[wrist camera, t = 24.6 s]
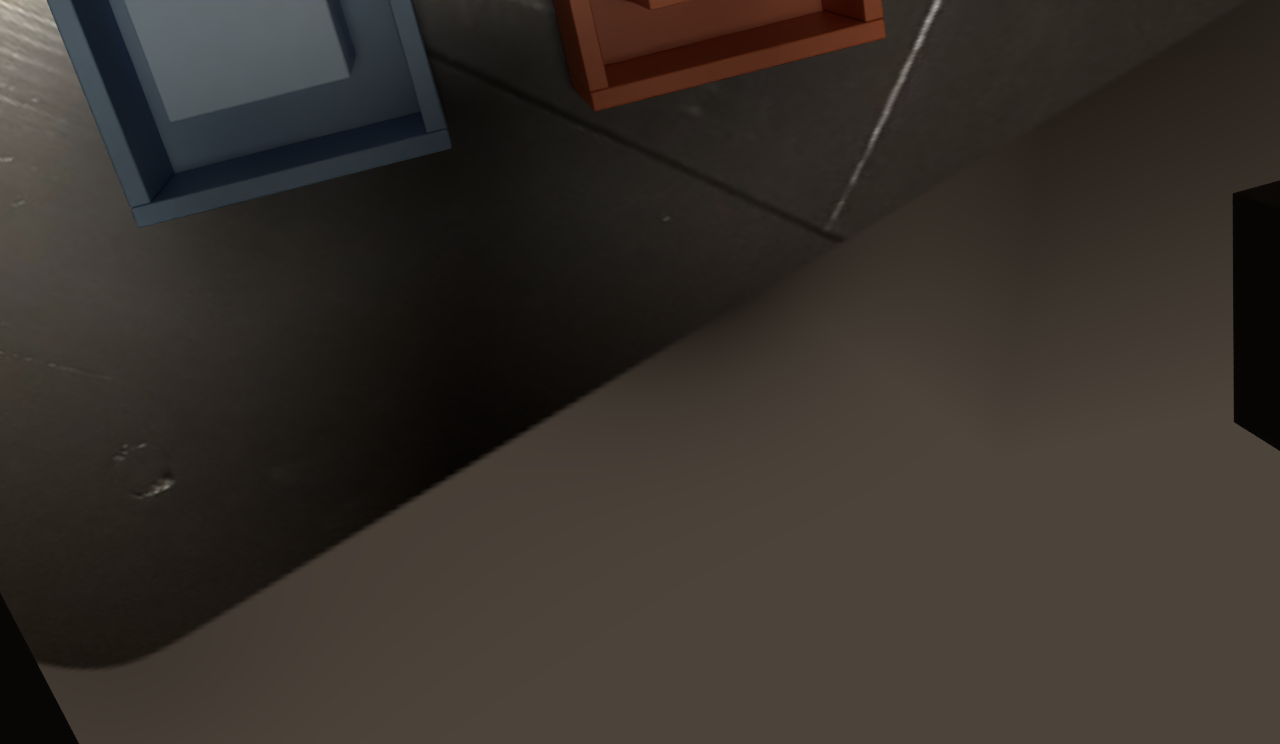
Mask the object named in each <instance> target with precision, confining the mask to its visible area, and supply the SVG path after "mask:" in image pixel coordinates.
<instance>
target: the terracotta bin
mask: <svg viewBox="0 0 1280 744" xmlns="http://www.w3.org/2000/svg"><path fill="white" fill-rule="evenodd" d="M553 4H554V8H555V12H556V16H557V21H558V25H559V29H560V34H561V38H562V42H563V46H564V51H565V55H566V59H567V64H568V68H569V72H570V76H571V81H572V85H573V88H574V90H575V91H576V92H577V93H578V94H579V95H580V96H581V97H582V98H583V99H584V100H585V101H586V103H587V104H588V105H589V106H590V107H591V108H592V109H593V110H594V111H596V112H597V111H601V110H605V109H609V108H612V107H616V106H620V105H624V104H628V103H632V102H636V101H640V100H644V99H648V98H652V97H656V96H660V95H664V94H667V93H671V92H675V91H679V90H683V89H687V88H691V87H695V86H699V85H703V84H707V83H711V82H715V81H719V80H723V79H726V78H730V77H734V76H738V75H742V74H746V73H750V72H754V71H758V70H762V69H766V68H770V67H774V66H778V65H781V64H785V63H789V62H793V61H797V60H801V59H805V58H809V57H813V56H817V55H821V54H825V53H829V52H833V51H836V50H840V49H844V48H848V47H852V46H856V45H860V44H864V43H868V42H872V41H876V40H880V39H884V38H885V37H886V32H885V24H884V19H882V18H883V7H882V0H693V1H689V2H685V3H681V4H677V5H673V6H669V7H665V8H661V9H657V10H653V11H652V10H649V9H647V8H645V7H642V6H640V5H638V4H636V3H634V2H631V1H629V0H553Z"/></svg>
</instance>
